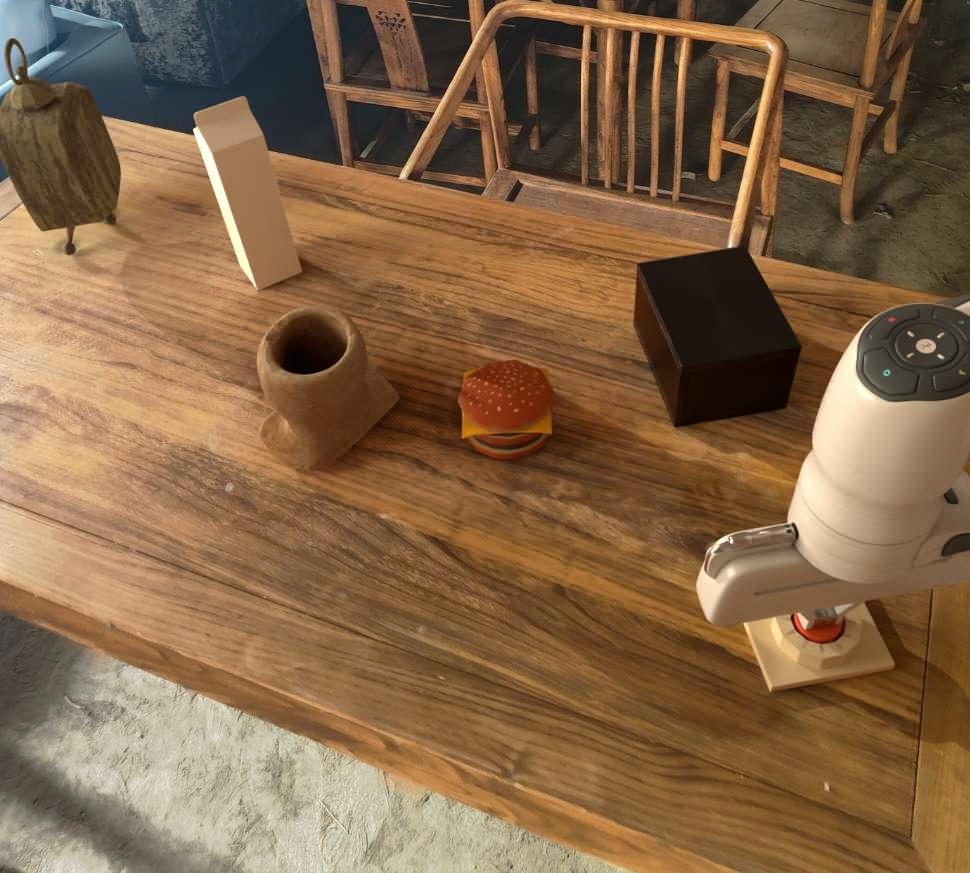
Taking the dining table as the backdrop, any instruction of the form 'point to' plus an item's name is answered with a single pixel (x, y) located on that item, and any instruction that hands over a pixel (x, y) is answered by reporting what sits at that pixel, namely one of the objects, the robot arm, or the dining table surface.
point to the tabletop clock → (57, 152)
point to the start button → (818, 632)
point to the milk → (247, 191)
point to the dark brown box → (714, 336)
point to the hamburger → (507, 408)
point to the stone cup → (318, 387)
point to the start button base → (817, 651)
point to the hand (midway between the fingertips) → (817, 618)
